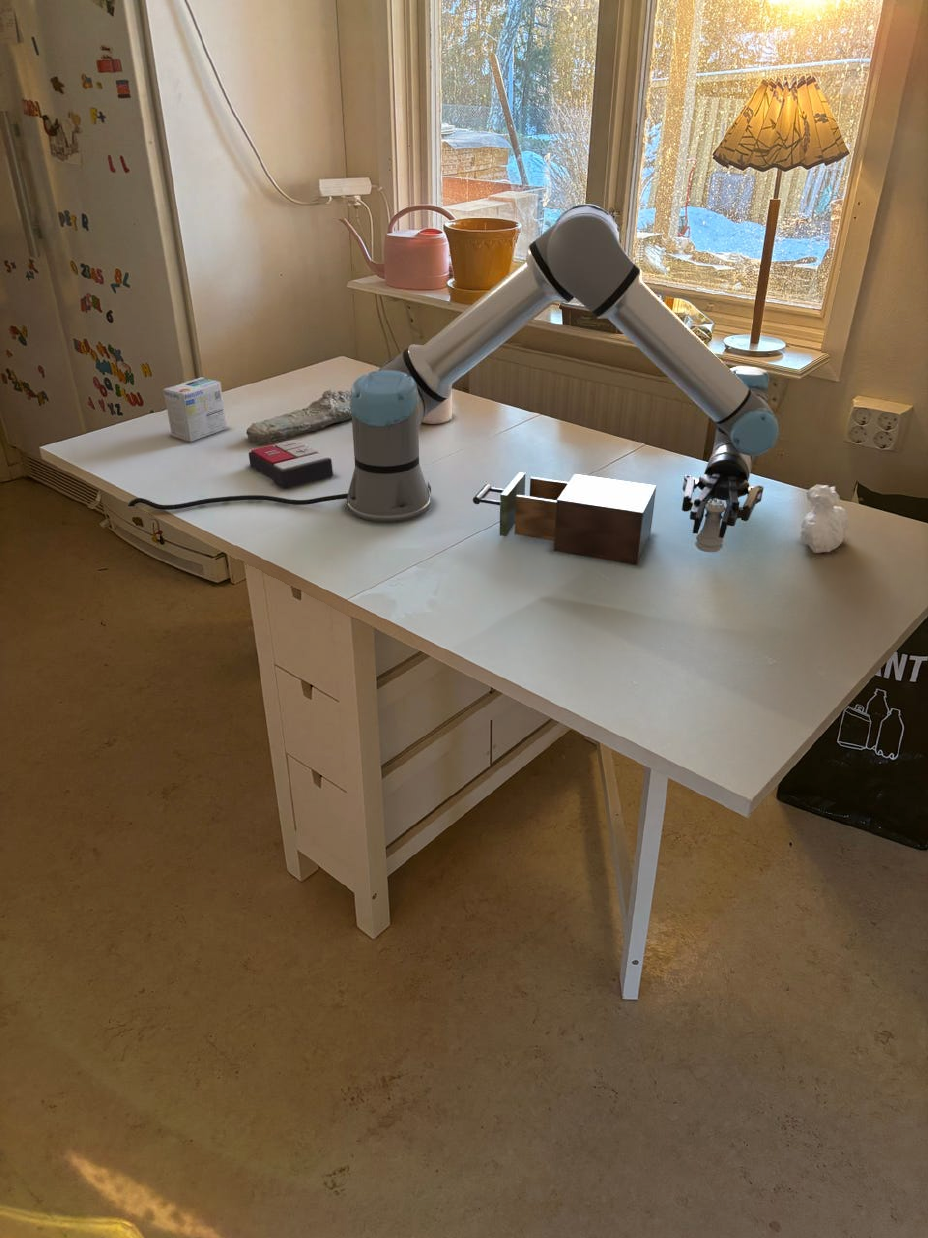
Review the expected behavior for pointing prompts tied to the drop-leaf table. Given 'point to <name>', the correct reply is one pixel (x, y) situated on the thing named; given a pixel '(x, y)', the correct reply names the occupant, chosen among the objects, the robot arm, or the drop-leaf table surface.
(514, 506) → the drawer
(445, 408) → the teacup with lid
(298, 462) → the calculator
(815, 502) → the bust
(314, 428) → the long grey stone
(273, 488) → the drop-leaf table surface
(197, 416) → the light bulb box
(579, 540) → the cabinet
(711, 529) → the rook chess piece
